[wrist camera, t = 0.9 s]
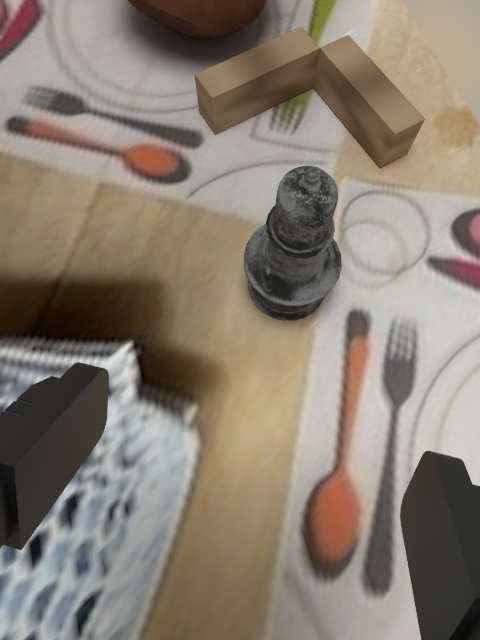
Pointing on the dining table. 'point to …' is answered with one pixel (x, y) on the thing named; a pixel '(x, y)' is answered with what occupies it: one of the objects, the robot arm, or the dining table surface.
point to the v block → (327, 80)
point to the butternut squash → (202, 15)
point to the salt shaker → (295, 247)
